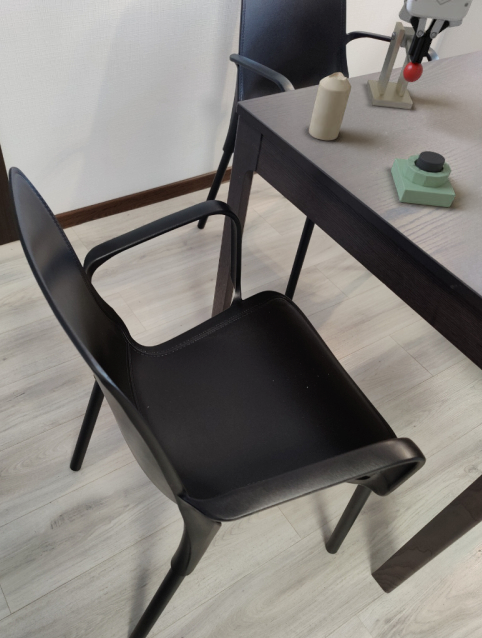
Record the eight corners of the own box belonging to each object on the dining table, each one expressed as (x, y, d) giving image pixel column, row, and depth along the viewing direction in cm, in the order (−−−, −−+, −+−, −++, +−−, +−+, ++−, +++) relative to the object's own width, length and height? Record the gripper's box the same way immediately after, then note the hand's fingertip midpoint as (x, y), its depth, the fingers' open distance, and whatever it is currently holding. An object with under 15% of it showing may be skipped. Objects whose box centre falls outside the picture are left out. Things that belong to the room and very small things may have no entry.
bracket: (410, 109, 103) (437, 37, 93) (371, 105, 103) (394, 33, 93) (402, 89, 109) (427, 20, 99) (366, 85, 109) (386, 16, 99)
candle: (313, 124, 96) (327, 66, 88) (341, 131, 95) (357, 73, 87) (304, 135, 93) (317, 76, 85) (333, 143, 91) (349, 84, 84)
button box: (436, 175, 86) (447, 152, 83) (449, 207, 80) (461, 184, 77) (390, 170, 87) (399, 147, 83) (399, 202, 80) (409, 178, 77)
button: (437, 162, 82) (442, 152, 80) (442, 175, 79) (447, 164, 78) (413, 160, 82) (417, 149, 81) (417, 172, 79) (422, 162, 78)
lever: (419, 87, 93) (427, 68, 90) (400, 85, 93) (408, 66, 90) (412, 43, 100) (419, 24, 97) (395, 41, 100) (401, 23, 97)
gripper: (419, -73, 75) (376, 63, 89) (518, -61, 75) (460, 73, 89) (410, -83, 80) (371, 48, 94) (504, -72, 80) (450, 57, 94)
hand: (414, 60), depth 91 cm, fingers closed
